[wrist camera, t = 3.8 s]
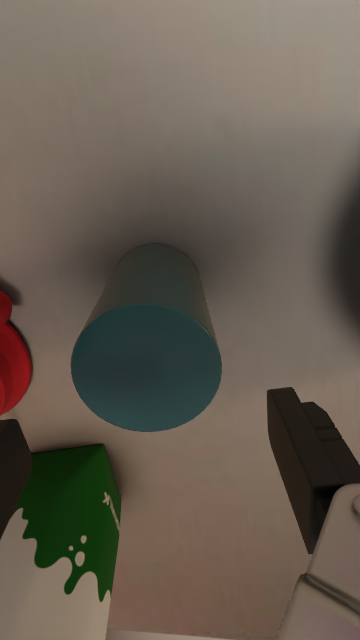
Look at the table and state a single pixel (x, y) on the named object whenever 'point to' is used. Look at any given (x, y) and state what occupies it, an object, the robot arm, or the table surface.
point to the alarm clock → (11, 360)
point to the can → (148, 344)
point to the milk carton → (61, 549)
